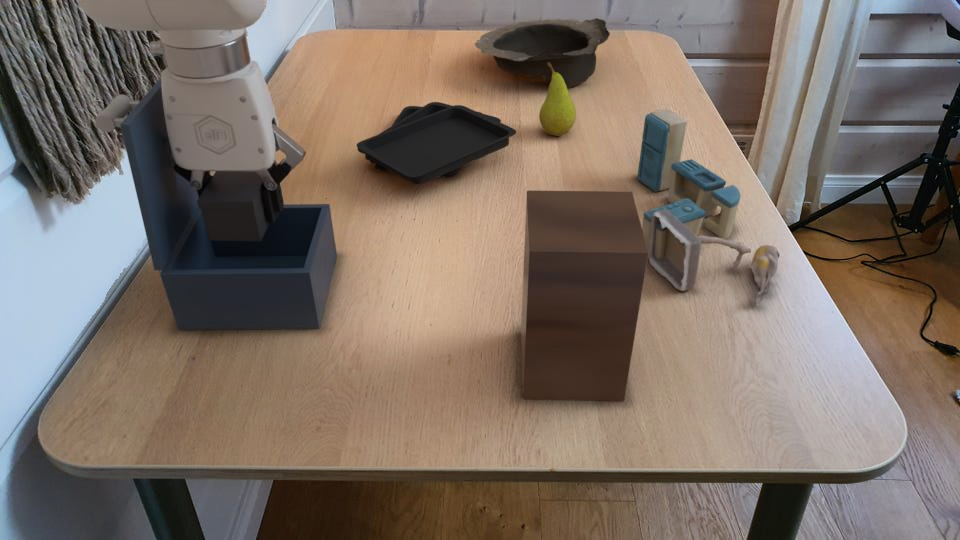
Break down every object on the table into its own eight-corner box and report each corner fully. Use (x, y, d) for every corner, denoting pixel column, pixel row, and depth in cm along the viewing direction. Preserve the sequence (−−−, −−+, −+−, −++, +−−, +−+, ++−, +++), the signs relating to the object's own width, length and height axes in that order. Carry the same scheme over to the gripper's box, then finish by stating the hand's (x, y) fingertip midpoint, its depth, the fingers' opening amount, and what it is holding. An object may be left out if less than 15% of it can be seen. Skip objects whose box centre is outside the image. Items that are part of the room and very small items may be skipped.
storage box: (337, 256, 92) (329, 203, 87) (319, 328, 81) (309, 272, 77) (212, 258, 92) (198, 205, 87) (178, 330, 81) (159, 274, 76)
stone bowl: (622, 95, 131) (624, 44, 125) (482, 110, 130) (478, 59, 125) (595, 44, 150) (596, -2, 144) (474, 57, 150) (470, 11, 144)
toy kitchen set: (574, 197, 103) (580, 128, 97) (656, 173, 109) (666, 106, 102) (655, 264, 91) (668, 190, 84) (743, 233, 96) (761, 161, 90)
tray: (378, 115, 125) (375, 86, 122) (514, 116, 124) (515, 87, 121) (346, 209, 101) (342, 176, 98) (515, 211, 100) (516, 178, 97)
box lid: (176, 67, 77) (126, 64, 77) (128, 124, 66) (69, 121, 66) (200, 201, 87) (155, 199, 87) (162, 270, 76) (110, 268, 76)
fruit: (581, 137, 118) (587, 65, 111) (550, 145, 116) (554, 72, 109) (561, 123, 122) (566, 52, 115) (531, 131, 120) (534, 59, 113)
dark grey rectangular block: (261, 242, 77) (252, 201, 74) (208, 241, 77) (196, 200, 74) (281, 198, 84) (274, 159, 81) (232, 198, 84) (223, 159, 81)
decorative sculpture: (773, 259, 91) (788, 209, 87) (796, 310, 84) (814, 258, 79) (642, 256, 92) (651, 206, 87) (654, 306, 84) (664, 254, 80)
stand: (624, 401, 72) (648, 252, 62) (522, 399, 73) (529, 250, 62) (612, 333, 80) (632, 191, 70) (521, 332, 81) (526, 190, 70)
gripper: (100, 68, 67) (154, 233, 78) (289, 70, 66) (316, 235, 77) (134, 39, 73) (179, 196, 84) (307, 40, 72) (330, 198, 83)
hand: (245, 214), depth 80 cm, fingers closed on dark grey rectangular block, 5 cm apart
